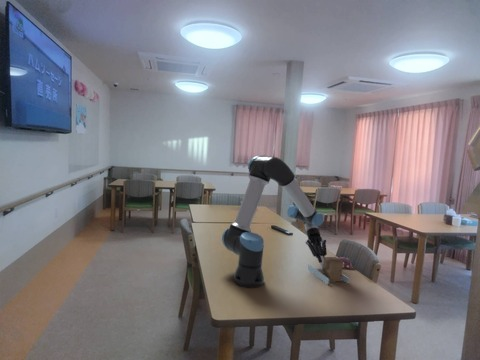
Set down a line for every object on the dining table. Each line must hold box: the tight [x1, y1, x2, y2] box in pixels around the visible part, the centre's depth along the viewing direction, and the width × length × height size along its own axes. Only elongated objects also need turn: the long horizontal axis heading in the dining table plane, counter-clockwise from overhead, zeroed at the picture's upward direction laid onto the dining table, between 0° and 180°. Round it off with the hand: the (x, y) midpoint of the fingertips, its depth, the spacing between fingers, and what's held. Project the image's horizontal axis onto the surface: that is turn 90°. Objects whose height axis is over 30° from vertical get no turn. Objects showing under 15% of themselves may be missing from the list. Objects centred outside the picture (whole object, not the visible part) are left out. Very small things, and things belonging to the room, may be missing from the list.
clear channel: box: [307, 263, 350, 285], centre depth 167 cm, size 20×13×3 cm, turn 17°
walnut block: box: [322, 256, 344, 283], centre depth 163 cm, size 7×7×11 cm
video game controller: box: [337, 256, 353, 270], centre depth 182 cm, size 10×5×7 cm, turn 92°
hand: (324, 267), depth 170 cm, fingers closed
